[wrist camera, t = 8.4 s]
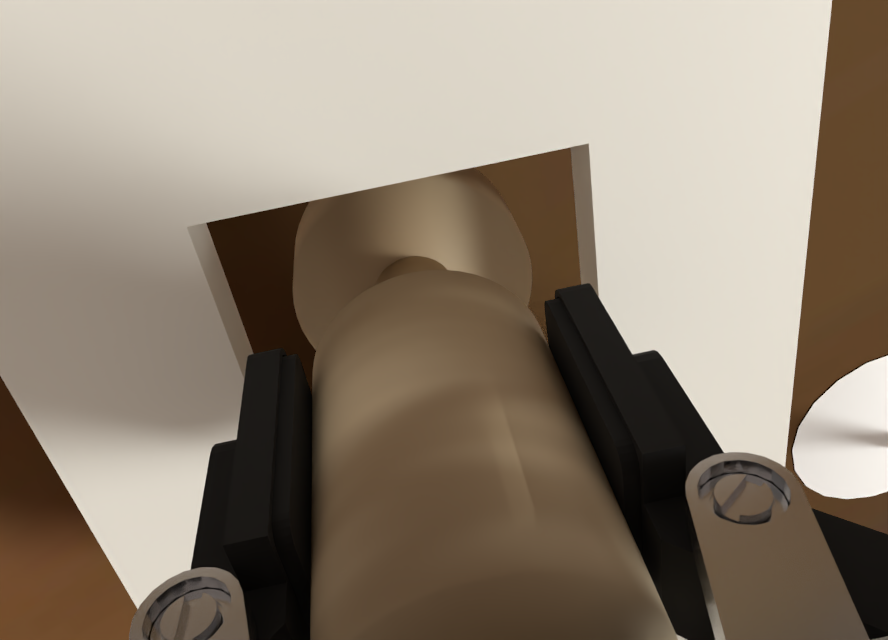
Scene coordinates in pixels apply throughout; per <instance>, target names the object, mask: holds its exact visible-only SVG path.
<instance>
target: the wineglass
mask: <svg viewBox="0 0 888 640" xmlns="http://www.w3.org/2000/svg"><path fill="white" fill-rule="evenodd" d="M792 453H793V460H794V468H795V471H796V473H797V474H798V476H799V477H800V478H801V480H802V481H803V483H804V484H805V485H806V486H807V487H809V488H810V489H812V490H814V491H816V492H818V493H820V494H822V495H823V496H829V497H836V498H843V499H852V498H861V497H869V496H875V495H878V494H881V493H884V492H887V491H888V356H885V357H882V358H879V359H877V360H874V361H871V362H868V363H866V364H864V365H863V366H861V367H859V368H858V369H856V370H854V371H853V372H851V373H850V374H848V375H846V376H845V377H843V378H841V379H840V380H838V381H837V382H836V383H835V384H834V385H833V386H832V387H831V388H829V389H828V390H827V391H826V392H825V393H824V394H823V395H822V396H821V397H820V398H819V399H818V400H817V401H816V402H815V403H814V404H813V406H812V407H811V409H810V410H809V412H808V413H807V415H806V416H805V418H804V420H803V421H802V423H801V424H800V426H799V428H798V431H797V435H796V438H795V442H794V446H793V449H792Z"/></svg>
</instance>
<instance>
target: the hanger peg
mask: <svg viewBox="0 0 888 640" xmlns="http://www.w3.org/2000/svg"><path fill="white" fill-rule="evenodd" d="M531 288H532V266H531V261H530V256H529V252H528V249H527V246H526V244H525V241H524V239H523V237H522V235H521V233H520V231H519V229H518V227H517V225H516V223H515V221H514V219H513V217H512V215H511V213H510V211H509V209H508V207H507V205H506V203H505V201H504V199H503V197H502V196H501V194H500V193H499V192H498V190H497V189H496V188H495V186H494V185H493V184H492V183H491V182H490V181H489V180H488V179H487V178H486V177H485V176H484V175H483V174H482V173H480V172H479V171H478V170H476V169H475V168H474V167H473V168H468V169H463V170H458V171H453V172H449V173H444V174H439V175H434V176H429V177H424V178H420V179H415V180H410V181H405V182H400V183H396V184H391V185H386V186H381V187H376V188H371V189H367V190H362V191H357V192H352V193H347V194H342V195H338V196H333V197H328V198H323V199H318V200H314V201H310V202H309V204H308V206H307V207H306V209H305V211H304V213H303V215H302V218H301V221H300V223H299V226H298V230H297V235H296V239H295V253H294V272H293V302H294V307H295V311H296V316H297V319H298V321H299V324H300V326H301V329H302V331H303V332H304V334H305V336H306V337H307V339H308V341H309V342H310V343H311V345H312V346H313V347H314V348H315V350H316V354H315V358H314V364H313V383H312V501H311V607H310V640H678V639H677V636H676V633H675V631H674V628H673V626H672V624H671V622H670V619H669V617H668V615H667V612H666V610H665V608H664V606H663V603H662V601H661V599H660V597H659V594H658V592H657V590H656V588H655V585H654V583H653V581H652V579H651V576H650V574H649V572H648V570H647V567H646V565H645V563H644V560H643V558H642V556H641V554H640V551H639V549H638V547H637V545H636V542H635V540H634V538H633V536H632V533H631V531H630V529H629V527H628V524H627V522H626V520H625V518H624V515H623V513H622V511H621V509H620V506H619V504H618V502H617V500H616V497H615V495H614V493H613V491H612V488H611V486H610V484H609V481H608V479H607V477H606V475H605V472H604V470H603V468H602V466H601V463H600V461H599V459H598V457H597V454H596V452H595V450H594V448H593V445H592V443H591V441H590V438H589V436H588V434H587V432H586V429H585V427H584V425H583V423H582V420H581V418H580V416H579V414H578V411H577V409H576V407H575V405H574V402H573V400H572V398H571V395H570V393H569V391H568V389H567V386H566V384H565V382H564V380H563V377H562V375H561V373H560V371H559V368H558V366H557V364H556V362H555V359H554V357H553V355H552V352H551V350H550V348H549V346H548V343H547V341H546V339H545V337H544V334H543V332H542V330H541V328H540V325H539V323H538V322H537V320H536V318H535V316H534V315H533V313H532V312H531V311H530V309H529V308H528V303H529V300H530V296H531Z"/></svg>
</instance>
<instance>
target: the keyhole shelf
mask: <svg viewBox="0 0 888 640" xmlns="http://www.w3.org/2000/svg"><path fill="white" fill-rule="evenodd" d="M831 6H832V0H0V376H1V378H2V380H3V381H4V383H5V385H6V386H7V388H8V390H9V392H10V393H11V395H12V397H13V398H14V400H15V402H16V403H17V405H18V407H19V408H20V410H21V412H22V414H23V415H24V417H25V419H26V420H27V422H28V424H29V425H30V427H31V429H32V431H33V432H34V434H35V436H36V437H37V439H38V441H39V442H40V444H41V446H42V447H43V449H44V451H45V453H46V454H47V456H48V458H49V459H50V461H51V463H52V464H53V466H54V468H55V470H56V471H57V473H58V475H59V476H60V478H61V480H62V481H63V483H64V485H65V486H66V488H67V490H68V492H69V493H70V495H71V497H72V498H73V500H74V502H75V503H76V505H77V507H78V509H79V510H80V512H81V514H82V515H83V517H84V519H85V520H86V522H87V524H88V525H89V527H90V529H91V531H92V532H93V534H94V536H95V537H96V539H97V541H98V542H99V544H100V546H101V548H102V549H103V551H104V553H105V554H106V556H107V558H108V559H109V561H110V563H111V564H112V566H113V568H114V570H115V571H116V573H117V575H118V576H119V578H120V580H121V581H122V583H123V585H124V587H125V588H126V590H127V592H128V593H129V595H130V597H131V598H132V600H133V602H134V603H135V605H136V607H137V609H138V608H139V606H140V604H141V603H142V602H143V601H144V600H145V599H146V598H147V596H148V595H149V594H150V593H151V592H152V591H153V590H154V589H155V588H157V587H158V586H159V585H161V584H162V583H163V582H165V581H166V580H167V579H169V578H171V577H173V576H176V575H178V574H180V573H182V572H184V571H188V570H190V569H191V563H192V558H193V552H194V546H195V540H196V534H197V528H198V522H199V516H200V510H201V504H202V499H203V493H204V487H205V481H206V475H207V469H208V463H209V457H210V453H211V449H212V447H213V446H214V445H215V444H217V443H222V442H227V441H231V440H236V439H237V432H238V424H239V416H240V409H241V401H242V393H243V386H244V378H245V370H246V363H247V357H248V356H249V355H251V354H253V351H252V348H251V345H250V343H249V340H248V337H247V334H246V332H245V329H244V326H243V323H242V321H241V318H240V315H239V312H238V309H237V307H236V304H235V301H234V298H233V296H232V293H231V290H230V287H229V285H228V282H227V279H226V276H225V274H224V271H223V268H222V265H221V263H220V260H219V257H218V254H217V252H216V249H215V246H214V243H213V241H212V238H211V235H210V232H209V229H208V227H207V224H206V223H207V222H212V221H217V220H222V219H227V218H232V217H236V216H241V215H246V214H251V213H256V212H260V211H265V210H270V209H275V208H280V207H285V206H289V205H294V204H299V203H304V202H309V201H314V200H318V199H323V198H328V197H333V196H338V195H342V194H347V193H352V192H357V191H362V190H367V189H371V188H376V187H381V186H386V185H391V184H396V183H400V182H405V181H410V180H415V179H420V178H424V177H429V176H434V175H439V174H444V173H449V172H453V171H458V170H463V169H468V168H473V167H478V166H482V165H487V164H492V163H497V162H502V161H506V160H511V159H516V158H521V157H526V156H531V155H535V154H540V153H545V152H550V151H555V150H560V149H564V148H569V147H571V158H572V171H573V184H574V197H575V210H576V223H577V235H578V248H579V261H580V274H581V285H582V284H586V283H590V284H591V286H592V287H593V289H594V290H595V292H596V294H597V295H598V297H599V299H600V300H601V302H602V304H603V306H604V307H605V309H606V311H607V312H608V314H609V316H610V317H611V319H612V321H613V322H614V324H615V326H616V327H617V329H618V331H619V333H620V334H621V336H622V338H623V339H624V341H625V343H626V344H627V346H628V348H629V349H630V351H631V353H632V354H637V353H642V352H646V351H651V350H655V351H658V352H659V354H660V355H661V356H662V357H663V359H664V360H665V362H666V363H667V365H668V367H669V368H670V370H671V371H672V373H673V374H674V376H675V377H676V379H677V380H678V382H679V384H680V385H681V387H682V388H683V390H684V391H685V393H686V394H687V396H688V398H689V399H690V401H691V402H692V404H693V405H694V407H695V408H696V410H697V412H698V413H699V415H700V416H701V418H702V419H703V421H704V422H705V424H706V425H707V427H708V429H709V430H710V432H711V433H712V435H713V436H714V438H715V439H716V441H717V443H718V444H719V446H720V447H721V449H722V450H723V452H724V453H728V452H743V453H751V454H755V455H760V456H764V457H766V458H769V459H771V460H773V461H775V462H777V463H779V464H781V465H782V466H784V467H785V461H786V451H787V442H788V432H789V422H790V412H791V402H792V392H793V382H794V372H795V362H796V352H797V342H798V333H799V323H800V313H801V303H802V293H803V283H804V273H805V263H806V253H807V243H808V233H809V224H810V214H811V204H812V194H813V184H814V174H815V164H816V154H817V144H818V134H819V125H820V115H821V105H822V95H823V85H824V75H825V65H826V55H827V45H828V35H829V25H830V16H831ZM676 636H677V639H678V640H684V638H683V637H681V636H679V635H677V634H676Z"/></svg>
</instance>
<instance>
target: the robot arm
mask: <svg viewBox="0 0 888 640" xmlns="http://www.w3.org/2000/svg"><path fill="white" fill-rule="evenodd" d="M545 316H546V325H547V334H548V343H549V348H550V350H551V352H552V355H553V357H554V359H555V362H556V364H557V366H558V368H559V371H560V373H561V375H562V377H563V380H564V382H565V384H566V386H567V389H568V391H569V393H570V395H571V398H572V400H573V402H574V405H575V407H576V409H577V411H578V414H579V416H580V418H581V420H582V423H583V425H584V427H585V429H586V432H587V434H588V436H589V438H590V441H591V443H592V445H593V448H594V450H595V452H596V454H597V457H598V459H599V461H600V463H601V466H602V468H603V470H604V472H605V475H606V477H607V479H608V481H609V484H610V486H611V488H612V491H613V493H614V495H615V497H616V500H617V502H618V504H619V506H620V509H621V511H622V513H623V515H624V518H625V520H626V522H627V524H628V527H629V529H630V531H631V533H632V536H633V538H634V540H635V542H636V545H637V547H638V549H639V551H640V554H641V556H642V558H643V560H644V563H645V565H646V567H647V570H648V572H649V574H650V576H651V579H652V581H653V583H654V585H655V588H656V590H657V592H658V594H659V597H660V599H661V601H662V603H663V606H664V608H665V610H666V612H667V615H668V617H669V619H670V622H671V624H672V626H673V628H674V631H675V633H676V634H677V635H679V636H681V637H683V638H684V640H888V535H887V534H884V533H882V532H879V531H876V530H873V529H870V528H867V527H864V526H861V525H858V524H855V523H853V522H850V521H847V520H844V519H841V518H838V517H835V516H832V515H829V514H826V513H824V512H821V511H818V510H815V509H812V508H811V506H810V504H809V502H808V500H807V497H806V495H805V493H804V491H803V488H802V486H801V485H800V483H799V482H798V480H797V479H796V477H795V476H794V475H793V474H792V473H791V472H790V471H789V470H787V469H786V468H785V467H784V466H782V465H781V464H779V463H777V462H775V461H773V460H771V459H769V458H766V457H764V456H760V455H755V454H751V453H743V452H728V453H724V452H723V450H722V449H721V447H720V446H719V444H718V443H717V441H716V439H715V438H714V436H713V435H712V433H711V432H710V430H709V429H708V427H707V425H706V424H705V422H704V421H703V419H702V418H701V416H700V415H699V413H698V412H697V410H696V408H695V407H694V405H693V404H692V402H691V401H690V399H689V398H688V396H687V394H686V393H685V391H684V390H683V388H682V387H681V385H680V384H679V382H678V380H677V379H676V377H675V376H674V374H673V373H672V371H671V370H670V368H669V367H668V365H667V363H666V362H665V360H664V359H663V357H662V356H661V355H660V354H659V352H658V351H655V350H651V351H646V352H642V353H637V354H632V353H631V351H630V349H629V348H628V346H627V344H626V343H625V341H624V339H623V338H622V336H621V334H620V333H619V331H618V329H617V327H616V326H615V324H614V322H613V321H612V319H611V317H610V316H609V314H608V312H607V311H606V309H605V307H604V306H603V304H602V302H601V300H600V299H599V297H598V295H597V294H596V292H595V290H594V289H593V287H592V286H591V284H590V283H586V284H582V285H577V286H572V287H567V288H563V289H558V290H556V291H555V299H553V300H548V301H545ZM311 501H312V394H311V391H310V388H309V385H308V382H307V379H306V376H305V373H304V370H303V366H302V363H301V361H300V358H299V356H298V355H297V354H294V355H289V356H287V355H286V352H285V351H284V349H283V348H279V349H275V350H270V351H265V352H260V353H256V354H251V355H249V356H248V357H247V363H246V370H245V378H244V386H243V393H242V401H241V409H240V416H239V424H238V432H237V439H236V440H231V441H227V442H222V443H217V444H215V445H214V446H213V447H212V449H211V453H210V457H209V463H208V469H207V475H206V481H205V487H204V493H203V499H202V504H201V510H200V516H199V522H198V528H197V534H196V540H195V546H194V552H193V558H192V563H191V569H190V570H188V571H184V572H182V573H180V574H178V575H176V576H173V577H171V578H169V579H167V580H166V581H165V582H163V583H162V584H161V585H159V586H158V587H157V588H155V589H154V590H153V591H152V592H151V593H150V594H149V595H148V596H147V598H146V599H145V600H144V601H143V602H142V603H141V604H140V606H139V608H138V610H137V612H136V614H135V616H134V618H133V619H132V624H131V629H130V634H129V640H310V607H311Z"/></svg>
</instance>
